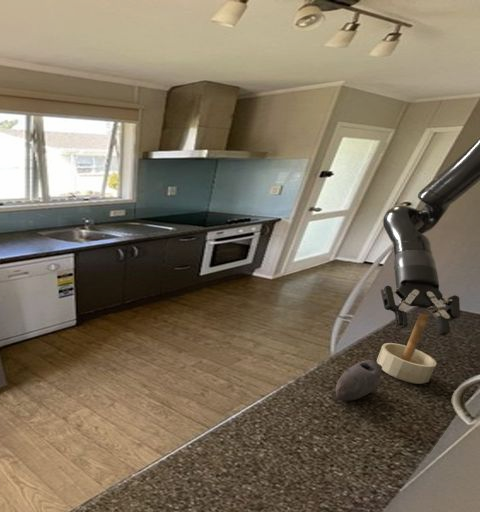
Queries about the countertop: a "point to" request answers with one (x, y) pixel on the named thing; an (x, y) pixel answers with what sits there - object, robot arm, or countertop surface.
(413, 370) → the bowl
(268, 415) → the countertop surface
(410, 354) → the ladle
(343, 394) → the perforated stone tool
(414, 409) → the countertop surface
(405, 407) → the countertop surface
